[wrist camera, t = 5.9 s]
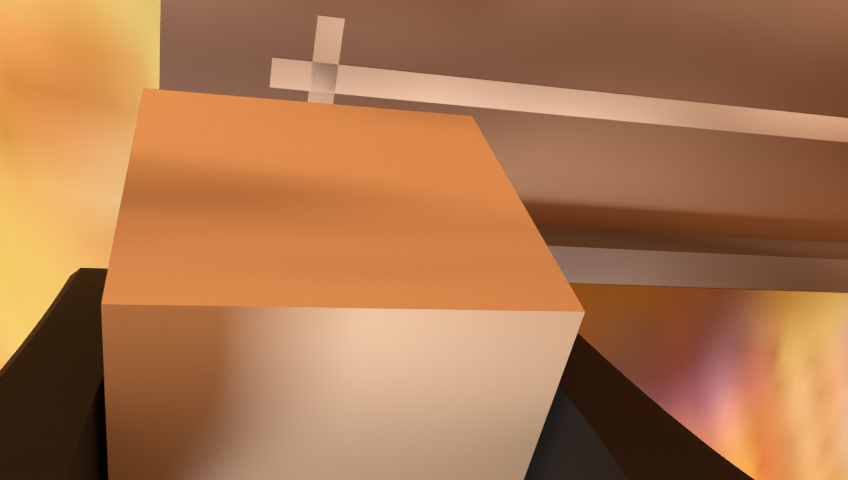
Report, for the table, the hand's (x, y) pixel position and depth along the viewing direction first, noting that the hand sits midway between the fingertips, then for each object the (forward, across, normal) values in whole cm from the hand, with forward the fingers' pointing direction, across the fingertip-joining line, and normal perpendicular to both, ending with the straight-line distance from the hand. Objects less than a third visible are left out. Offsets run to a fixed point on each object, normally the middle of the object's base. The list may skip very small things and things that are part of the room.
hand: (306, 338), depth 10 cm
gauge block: (+1, 0, 0) cm, 1 cm away
